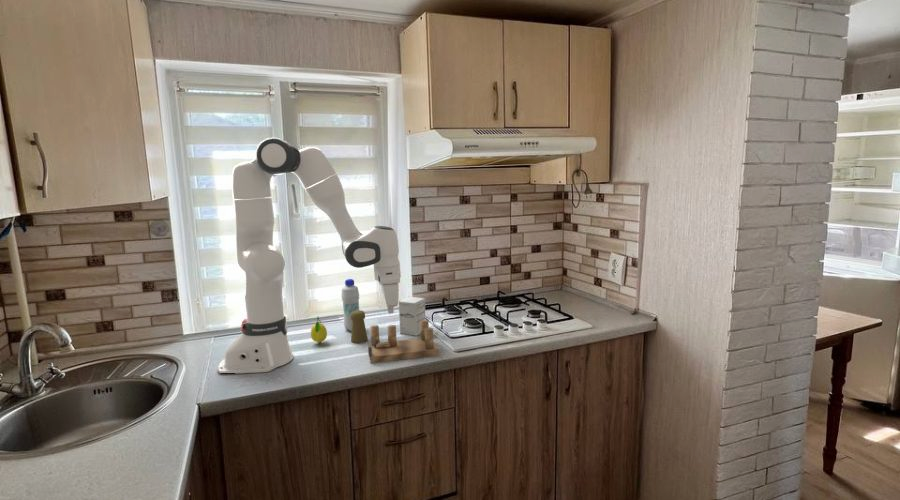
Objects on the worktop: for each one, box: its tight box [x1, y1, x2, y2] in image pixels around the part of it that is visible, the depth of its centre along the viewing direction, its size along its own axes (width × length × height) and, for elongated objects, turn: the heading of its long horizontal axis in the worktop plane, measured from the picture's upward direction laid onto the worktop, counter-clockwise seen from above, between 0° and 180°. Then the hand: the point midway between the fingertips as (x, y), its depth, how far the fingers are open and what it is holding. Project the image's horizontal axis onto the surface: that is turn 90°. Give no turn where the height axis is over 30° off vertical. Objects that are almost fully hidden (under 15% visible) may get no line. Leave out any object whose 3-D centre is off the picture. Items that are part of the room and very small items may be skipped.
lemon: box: [310, 315, 328, 344], centre depth 168 cm, size 7×6×10 cm
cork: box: [350, 309, 369, 345], centre depth 169 cm, size 6×6×11 cm
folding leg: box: [374, 324, 398, 348], centre depth 157 cm, size 8×3×6 cm, turn 103°
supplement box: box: [398, 296, 427, 337], centre depth 176 cm, size 7×7×13 cm
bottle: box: [341, 278, 360, 333], centre depth 181 cm, size 7×7×20 cm
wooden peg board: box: [367, 319, 439, 364], centre depth 157 cm, size 22×12×8 cm, turn 103°
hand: (390, 312), depth 163 cm, fingers closed
